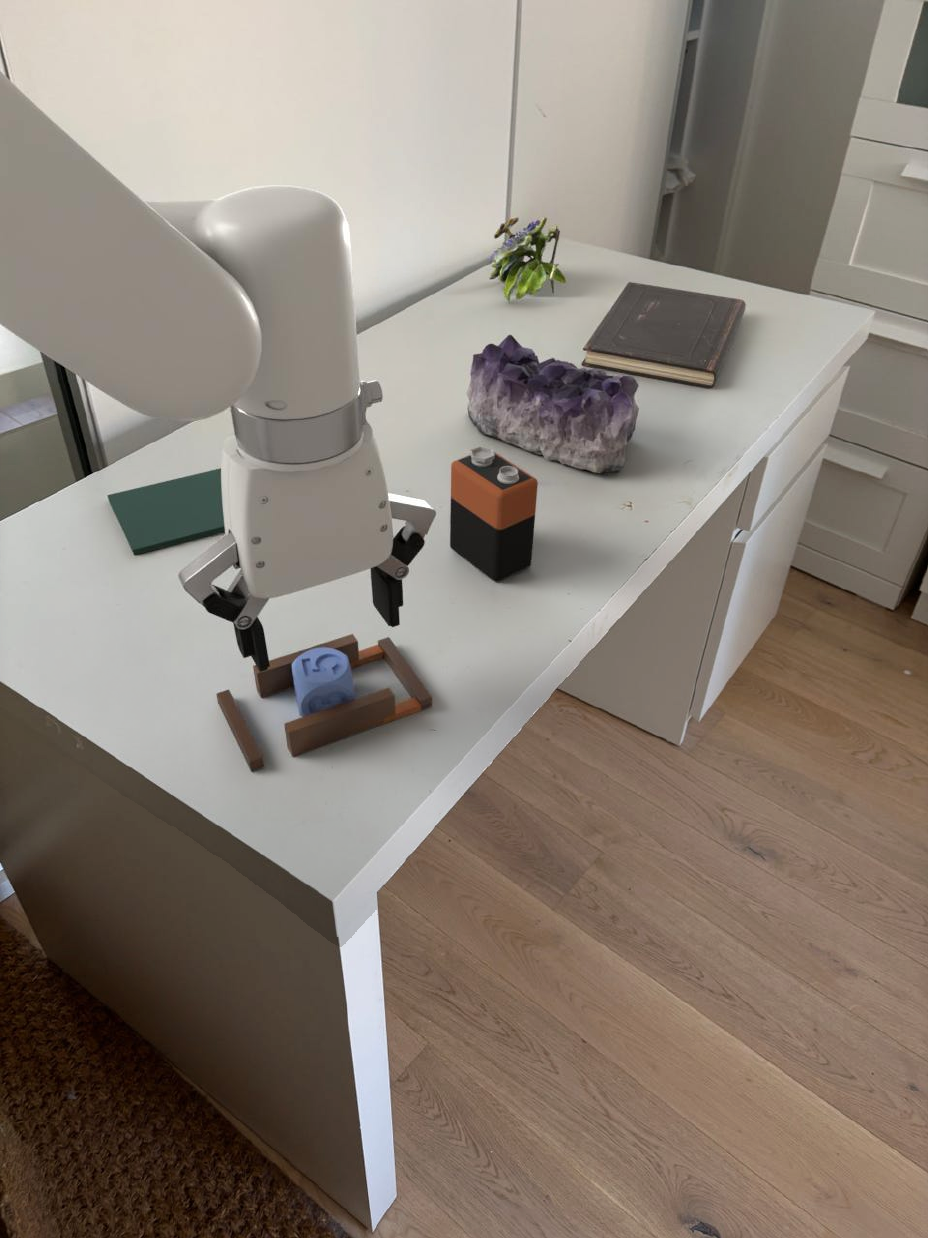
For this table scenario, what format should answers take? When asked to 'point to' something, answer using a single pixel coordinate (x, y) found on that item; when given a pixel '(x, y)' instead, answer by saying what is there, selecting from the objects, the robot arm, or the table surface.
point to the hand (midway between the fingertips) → (323, 636)
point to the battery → (492, 513)
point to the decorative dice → (322, 680)
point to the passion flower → (512, 257)
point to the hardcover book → (666, 334)
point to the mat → (170, 511)
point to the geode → (552, 407)
